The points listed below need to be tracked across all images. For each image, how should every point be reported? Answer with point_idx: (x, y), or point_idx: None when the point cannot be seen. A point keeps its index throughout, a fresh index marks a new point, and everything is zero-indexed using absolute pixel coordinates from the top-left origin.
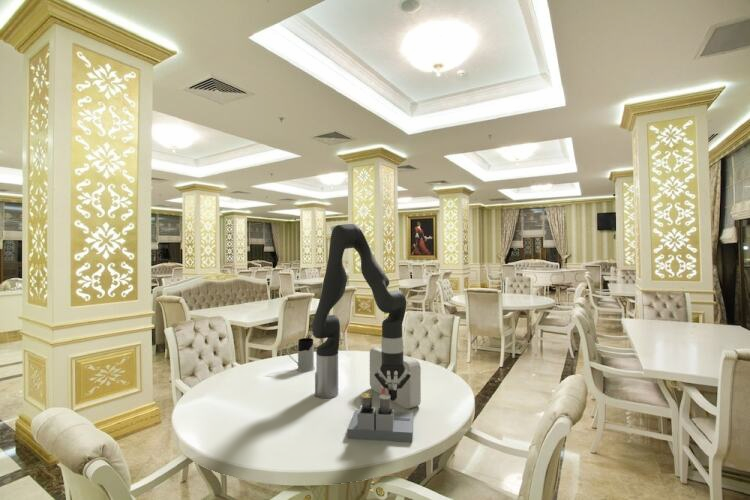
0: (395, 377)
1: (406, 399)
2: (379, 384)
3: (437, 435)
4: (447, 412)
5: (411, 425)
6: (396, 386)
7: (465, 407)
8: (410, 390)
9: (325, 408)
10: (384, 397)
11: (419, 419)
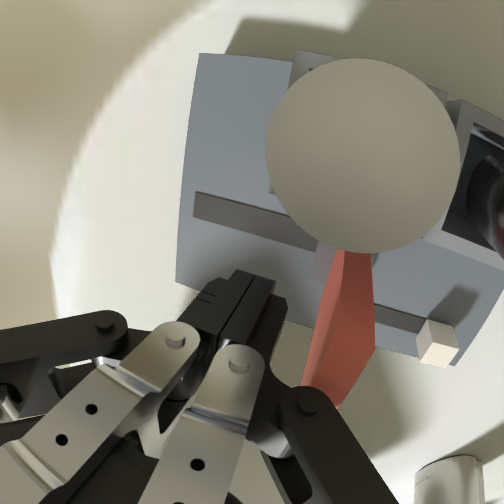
0: (73, 447)
1: (199, 387)
2: None
3: (118, 125)
4: (91, 294)
5: (193, 135)
6: (143, 347)
7: (59, 306)
8: None
9: (500, 408)
10: (385, 81)
11: (170, 270)
